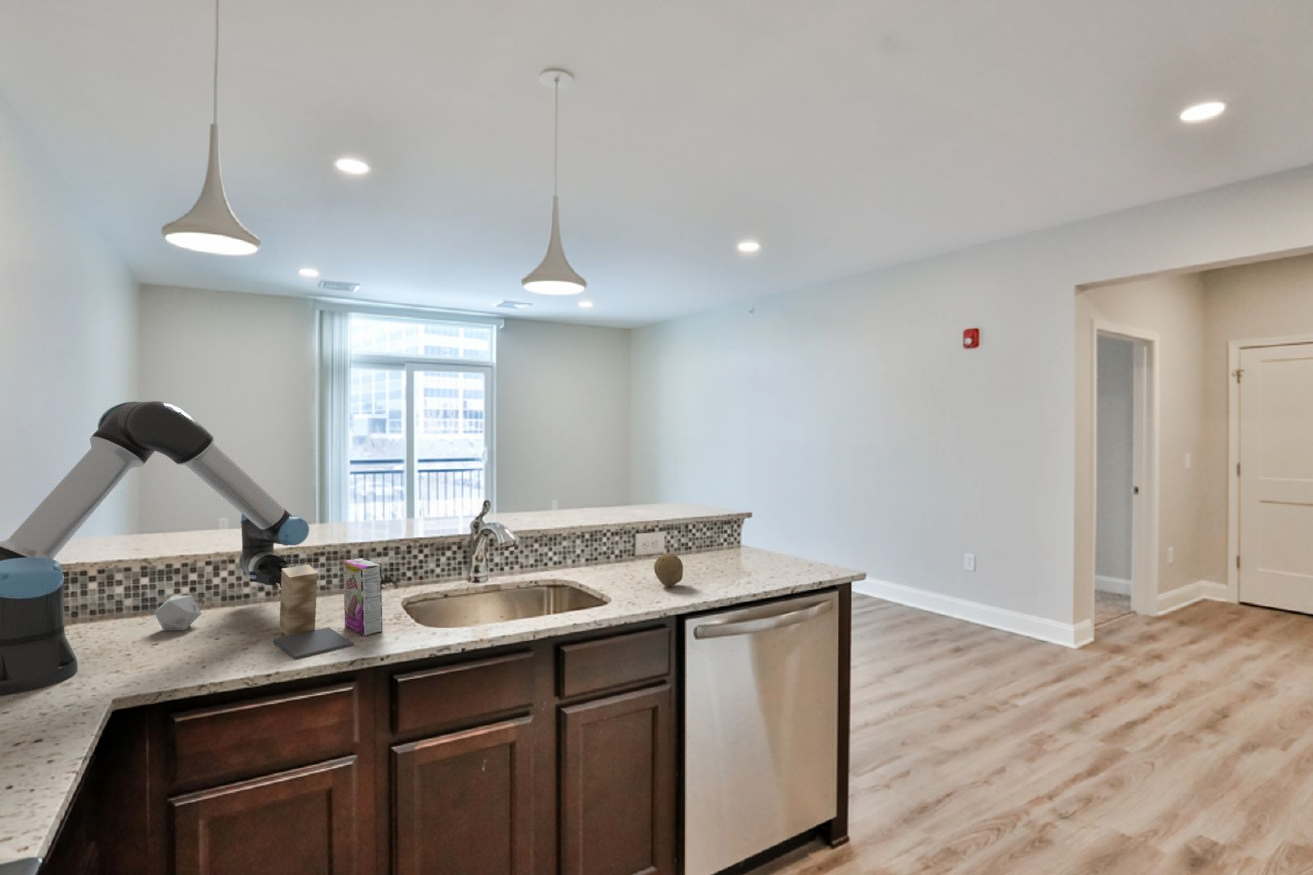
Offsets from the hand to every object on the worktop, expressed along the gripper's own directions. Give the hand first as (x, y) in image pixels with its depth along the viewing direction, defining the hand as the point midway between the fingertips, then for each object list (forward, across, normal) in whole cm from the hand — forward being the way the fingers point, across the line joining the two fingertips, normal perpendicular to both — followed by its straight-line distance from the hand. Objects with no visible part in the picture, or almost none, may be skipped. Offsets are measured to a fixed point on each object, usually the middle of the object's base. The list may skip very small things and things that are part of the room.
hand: (297, 583), depth 159 cm
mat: (+13, +1, -11) cm, 17 cm away
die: (-23, +20, -12) cm, 33 cm away
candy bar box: (+11, -11, -12) cm, 19 cm away
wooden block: (+2, +1, -11) cm, 11 cm away
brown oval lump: (+37, -92, -12) cm, 99 cm away
